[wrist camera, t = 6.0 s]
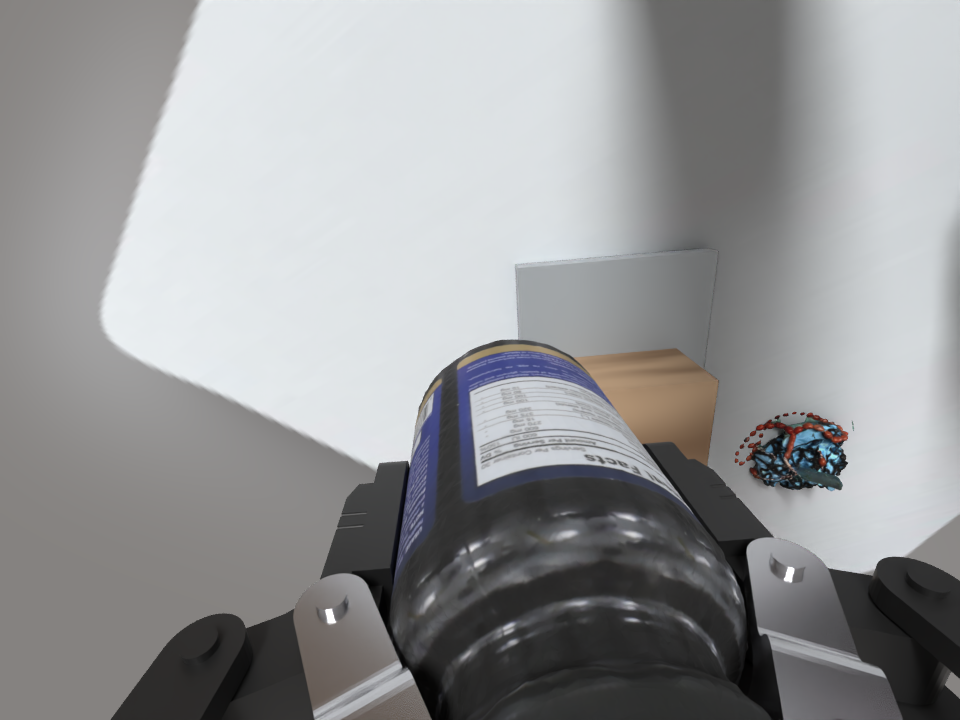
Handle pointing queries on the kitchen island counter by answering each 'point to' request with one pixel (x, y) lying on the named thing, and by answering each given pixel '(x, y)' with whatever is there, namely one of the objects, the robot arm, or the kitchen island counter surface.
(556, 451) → the pill bottle
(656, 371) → the wooden block
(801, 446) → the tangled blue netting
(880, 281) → the kitchen island counter surface
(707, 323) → the build plate
